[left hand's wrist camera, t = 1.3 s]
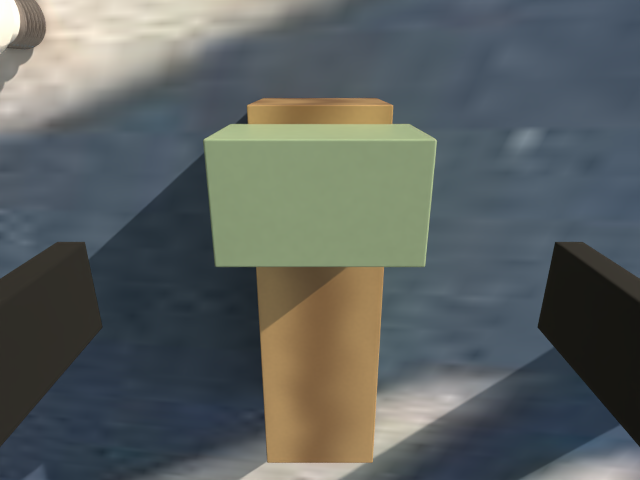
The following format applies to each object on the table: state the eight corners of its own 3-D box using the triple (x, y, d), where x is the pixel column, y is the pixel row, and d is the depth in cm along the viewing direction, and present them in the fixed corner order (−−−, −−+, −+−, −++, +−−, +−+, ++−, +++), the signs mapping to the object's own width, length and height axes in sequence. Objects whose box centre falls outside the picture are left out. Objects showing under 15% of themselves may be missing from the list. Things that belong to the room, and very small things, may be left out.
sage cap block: (410, 123, 24) (437, 139, 19) (402, 226, 26) (425, 267, 21) (229, 123, 24) (202, 139, 19) (237, 226, 26) (214, 267, 21)
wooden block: (377, 98, 30) (393, 105, 24) (364, 398, 40) (372, 462, 33) (262, 98, 30) (246, 105, 24) (275, 398, 40) (267, 462, 33)
